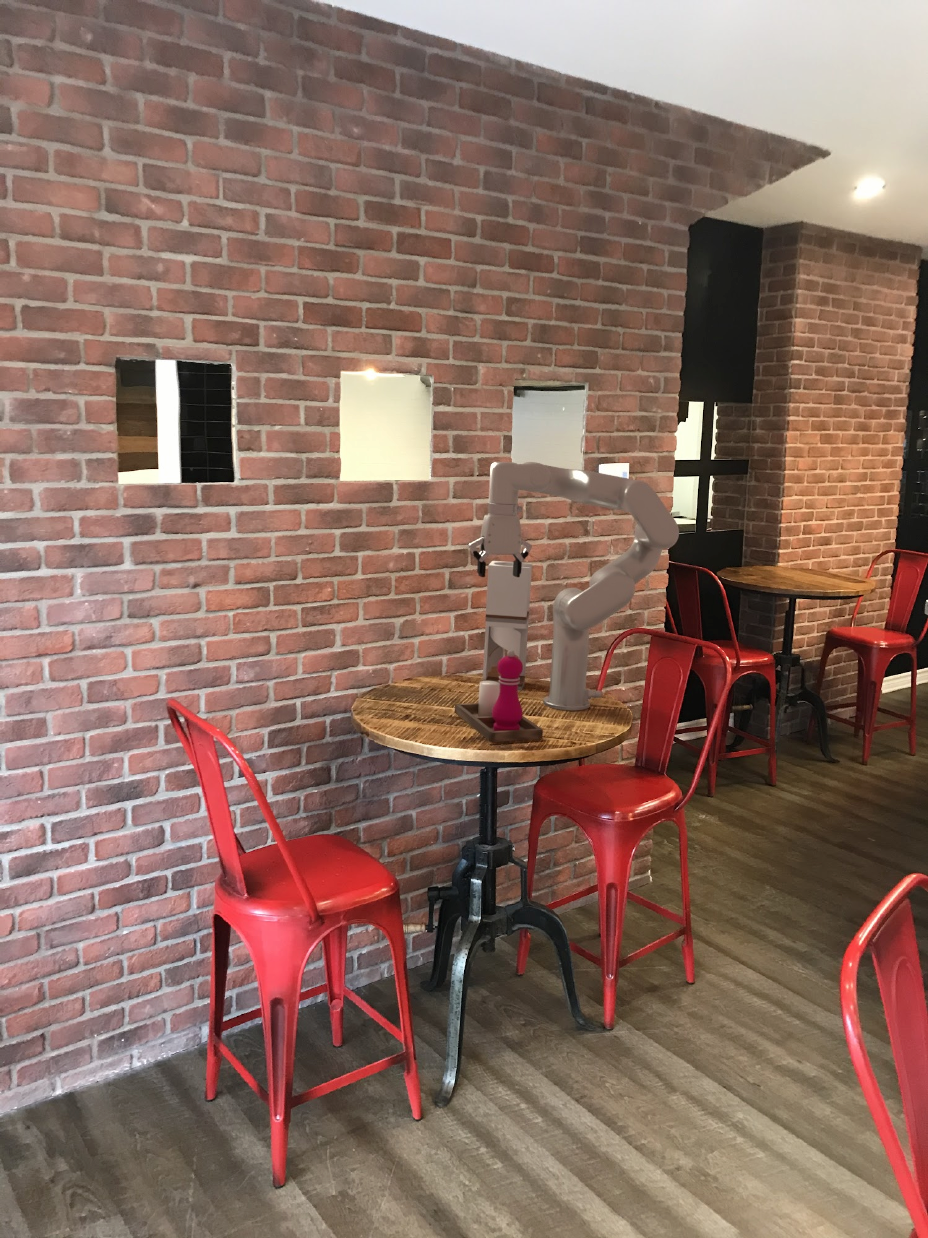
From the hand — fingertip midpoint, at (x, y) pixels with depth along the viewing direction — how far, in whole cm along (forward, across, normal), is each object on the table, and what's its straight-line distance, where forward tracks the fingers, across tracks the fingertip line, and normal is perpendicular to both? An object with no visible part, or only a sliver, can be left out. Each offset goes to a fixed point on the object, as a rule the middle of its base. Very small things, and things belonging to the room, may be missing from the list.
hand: (499, 576), depth 255 cm
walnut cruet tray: (+34, +7, +21) cm, 41 cm away
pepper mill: (+34, +7, +27) cm, 44 cm away
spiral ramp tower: (+34, -11, -19) cm, 41 cm away
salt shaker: (+34, +7, +15) cm, 37 cm away
